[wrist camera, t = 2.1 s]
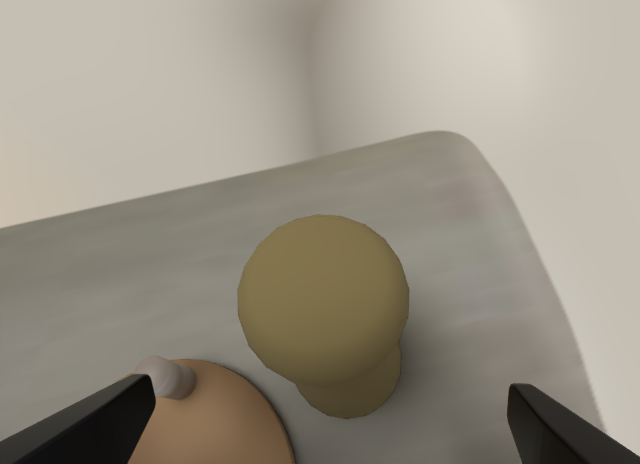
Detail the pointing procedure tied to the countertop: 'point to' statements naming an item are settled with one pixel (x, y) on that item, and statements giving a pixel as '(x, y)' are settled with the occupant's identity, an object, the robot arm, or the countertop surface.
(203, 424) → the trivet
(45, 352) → the countertop surface
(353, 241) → the cork
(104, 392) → the robot arm
